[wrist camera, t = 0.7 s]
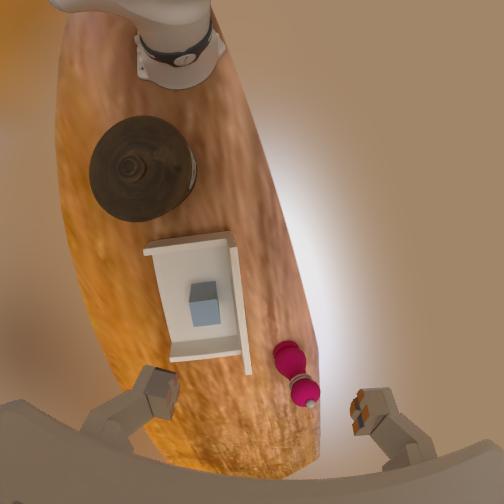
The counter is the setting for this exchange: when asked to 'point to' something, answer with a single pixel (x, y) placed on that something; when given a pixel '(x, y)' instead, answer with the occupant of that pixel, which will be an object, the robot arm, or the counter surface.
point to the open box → (178, 291)
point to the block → (204, 304)
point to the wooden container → (141, 169)
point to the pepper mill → (296, 374)
